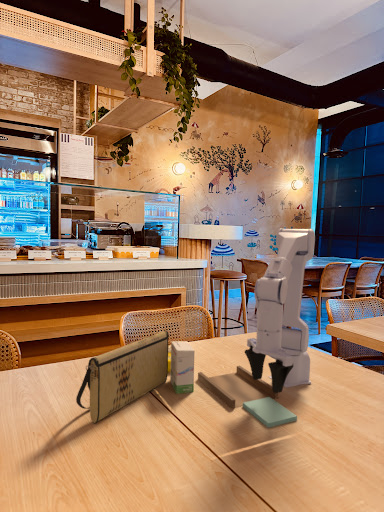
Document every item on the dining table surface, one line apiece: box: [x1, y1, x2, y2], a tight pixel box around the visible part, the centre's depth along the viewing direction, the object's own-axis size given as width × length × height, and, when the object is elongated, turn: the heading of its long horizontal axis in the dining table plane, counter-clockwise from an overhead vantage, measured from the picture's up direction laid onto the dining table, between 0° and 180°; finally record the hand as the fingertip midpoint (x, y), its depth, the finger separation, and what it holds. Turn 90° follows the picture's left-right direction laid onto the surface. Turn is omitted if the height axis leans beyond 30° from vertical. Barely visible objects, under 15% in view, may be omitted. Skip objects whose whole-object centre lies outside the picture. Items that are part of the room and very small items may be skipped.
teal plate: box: [242, 397, 298, 428], centre depth 84 cm, size 8×10×2 cm
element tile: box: [168, 344, 171, 374], centre depth 114 cm, size 15×15×5 cm
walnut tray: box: [197, 365, 279, 409], centre depth 96 cm, size 14×18×2 cm
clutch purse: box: [75, 330, 170, 424], centre depth 89 cm, size 30×7×15 cm, turn 148°
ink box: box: [169, 340, 195, 394], centre depth 97 cm, size 8×5×12 cm, turn 14°
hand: (266, 385), depth 84 cm, fingers open, 7 cm apart
